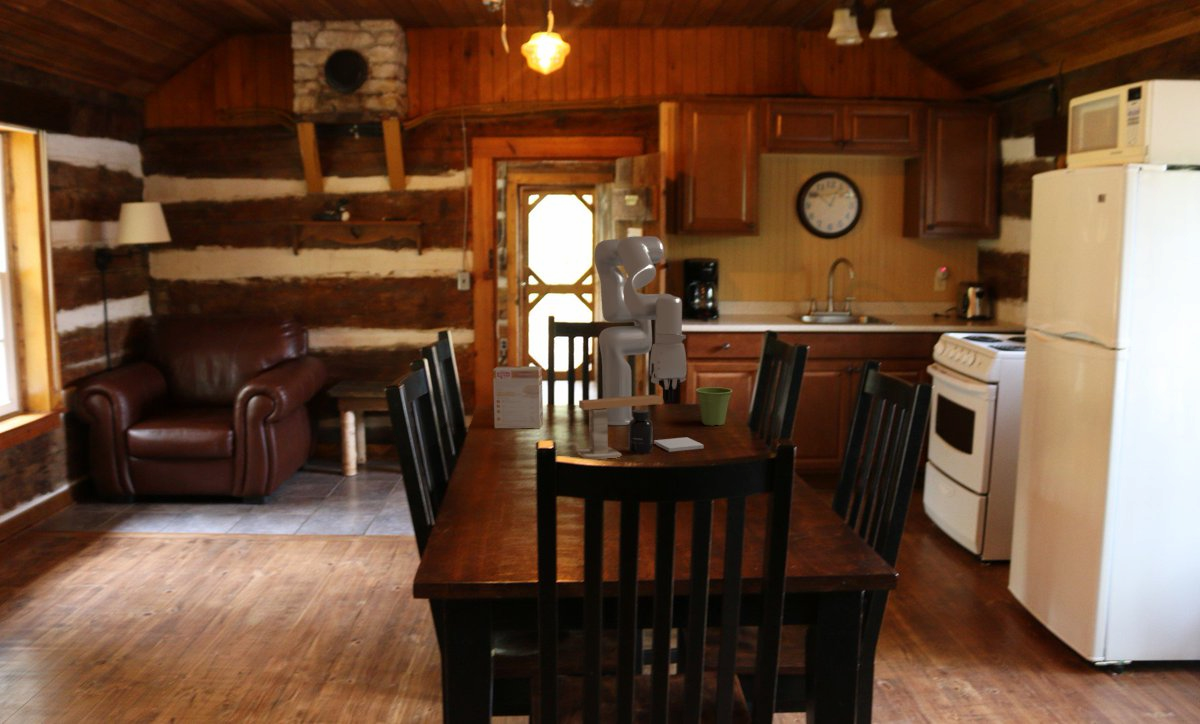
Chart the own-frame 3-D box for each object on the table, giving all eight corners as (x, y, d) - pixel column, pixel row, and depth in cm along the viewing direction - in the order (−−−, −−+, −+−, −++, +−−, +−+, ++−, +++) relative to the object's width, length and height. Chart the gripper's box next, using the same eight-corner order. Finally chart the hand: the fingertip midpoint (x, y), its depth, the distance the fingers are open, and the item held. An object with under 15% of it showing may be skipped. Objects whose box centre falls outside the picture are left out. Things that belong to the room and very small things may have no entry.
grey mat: (653, 443, 296) (653, 440, 296) (687, 440, 300) (687, 437, 300) (669, 451, 286) (669, 448, 286) (703, 448, 290) (703, 444, 290)
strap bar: (579, 407, 280) (579, 400, 280) (656, 401, 289) (656, 394, 288) (583, 410, 276) (583, 403, 276) (662, 403, 285) (662, 396, 285)
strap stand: (576, 453, 285) (575, 406, 283) (608, 450, 289) (608, 404, 287) (588, 461, 276) (587, 413, 274) (621, 457, 279) (621, 410, 277)
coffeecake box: (543, 424, 325) (542, 365, 322) (540, 429, 318) (538, 369, 315) (498, 424, 326) (497, 365, 324) (494, 428, 319) (492, 369, 317)
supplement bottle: (632, 455, 283) (632, 413, 281) (625, 449, 289) (625, 409, 287) (655, 453, 284) (655, 412, 283) (648, 448, 291) (648, 408, 289)
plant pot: (730, 428, 317) (731, 393, 315) (693, 427, 319) (693, 392, 317) (733, 420, 328) (733, 387, 327) (697, 419, 331) (697, 386, 329)
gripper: (686, 336, 291) (686, 398, 294) (639, 339, 286) (639, 401, 289) (697, 339, 284) (697, 402, 287) (650, 342, 279) (650, 406, 282)
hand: (668, 402), depth 288 cm, fingers closed
